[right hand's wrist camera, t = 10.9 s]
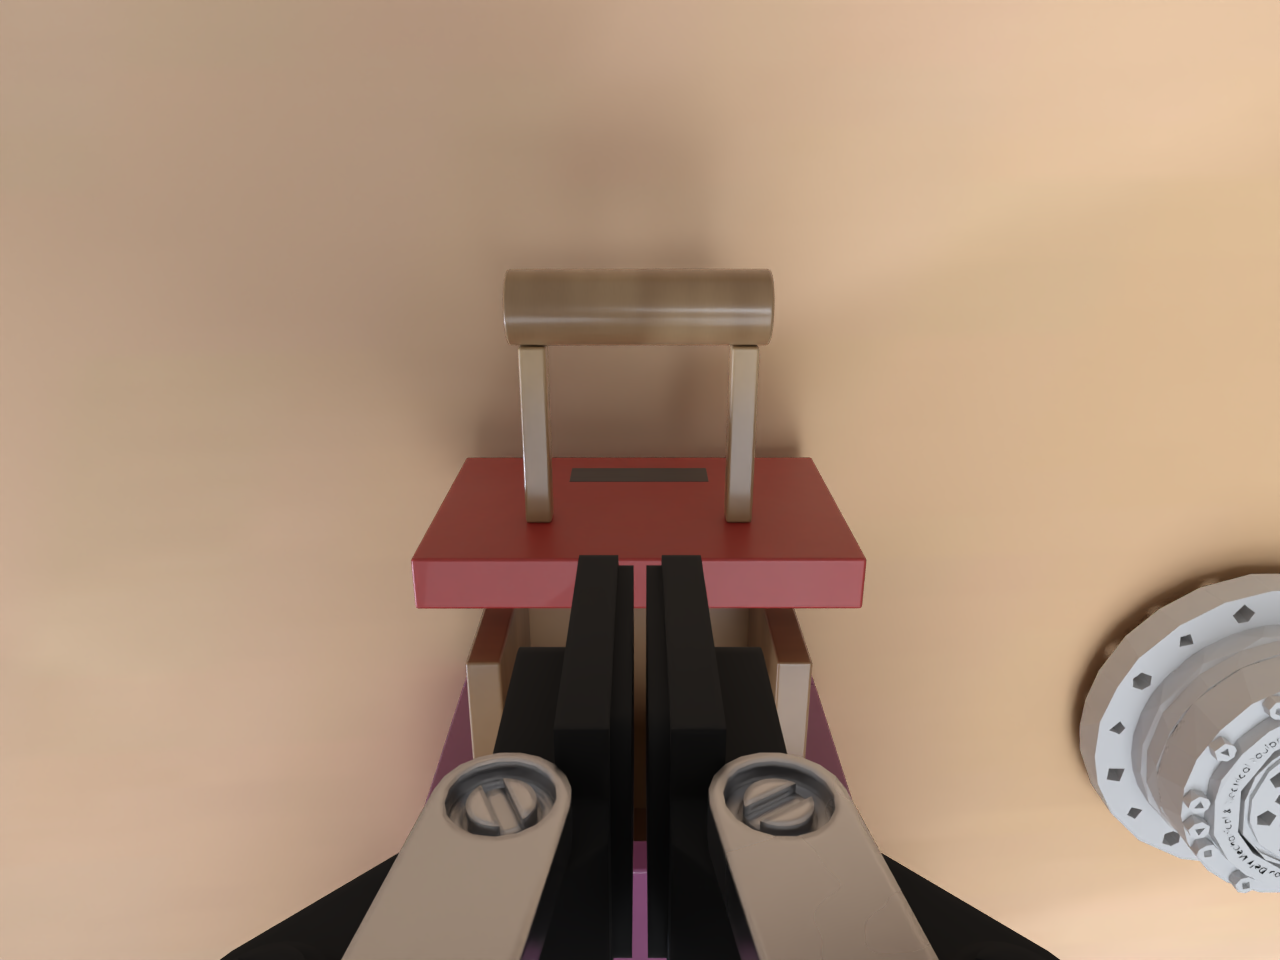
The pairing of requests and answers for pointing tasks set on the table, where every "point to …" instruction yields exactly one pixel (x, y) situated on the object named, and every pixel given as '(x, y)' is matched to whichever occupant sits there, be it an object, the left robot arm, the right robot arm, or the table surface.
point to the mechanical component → (1196, 730)
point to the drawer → (638, 502)
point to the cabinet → (816, 751)
